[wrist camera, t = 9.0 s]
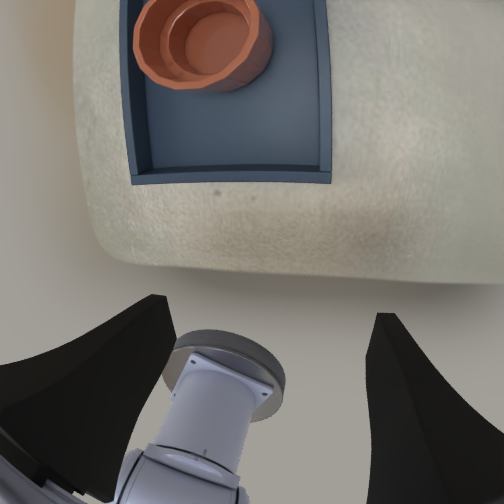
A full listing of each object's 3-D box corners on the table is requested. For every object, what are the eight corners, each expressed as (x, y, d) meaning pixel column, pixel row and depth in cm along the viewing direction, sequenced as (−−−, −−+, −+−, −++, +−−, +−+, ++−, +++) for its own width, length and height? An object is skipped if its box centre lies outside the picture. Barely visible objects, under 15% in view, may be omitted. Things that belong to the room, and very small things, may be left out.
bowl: (248, 108, 15) (223, 108, 11) (161, 75, 15) (116, 71, 11) (291, 20, 12) (281, -9, 8) (199, -7, 12) (163, -33, 8)
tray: (329, 174, 16) (331, 184, 14) (150, 176, 18) (131, 185, 16) (315, -60, 9) (314, -78, 7) (140, -30, 12) (122, -40, 10)
